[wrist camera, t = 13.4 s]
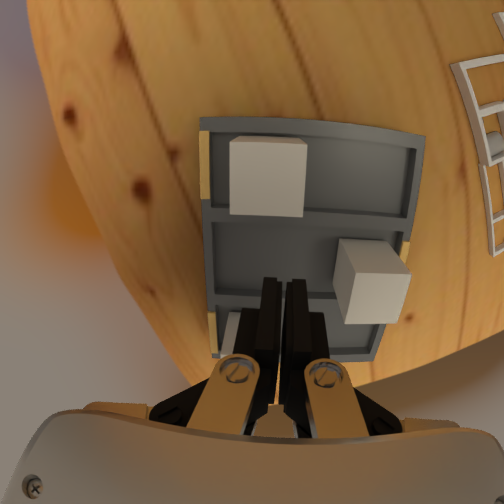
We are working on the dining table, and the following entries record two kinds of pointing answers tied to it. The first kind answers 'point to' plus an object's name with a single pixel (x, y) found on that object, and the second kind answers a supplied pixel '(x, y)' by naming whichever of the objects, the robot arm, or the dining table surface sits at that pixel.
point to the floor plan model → (488, 145)
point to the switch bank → (306, 219)
